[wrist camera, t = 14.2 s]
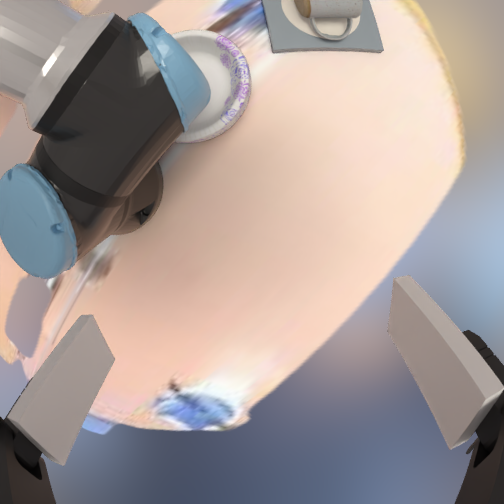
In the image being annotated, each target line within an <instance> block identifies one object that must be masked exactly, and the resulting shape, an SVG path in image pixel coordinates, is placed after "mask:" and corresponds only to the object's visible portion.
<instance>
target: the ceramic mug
mask: <svg viewBox="0 0 504 504" xmlns="http://www.w3.org/2000/svg"><path fill="white" fill-rule="evenodd" d="M294 2H295V5H296V8H297V10H298V12H299V13H300V14H301V15H302V16H304V17H306V18H309V19H310V24H311V26H312V28H313V30H314V31H315V33H316V34H317V35H319V36H320V37H322V38H325V39H328V40H341V39H343V38H345V37H347V35H348V34H349V33H350V31H351V28H352V18H357V17H359V16H360V14H361V12H362V5H363V1H362V0H294ZM315 18H319V19H320V18H347V27H346V30H345V32H344V33H343V34H342V35H339V36H338V35H328V34H323V33H321V32H320V31H319V30H318V29H317V26H316V24H315V21H314V19H315Z"/></svg>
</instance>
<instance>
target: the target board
mask: <svg viewBox="0 0 504 504" xmlns="http://www.w3.org/2000/svg"><path fill="white" fill-rule="evenodd" d="M362 1H363V5H362V12H361V14H360V16H359V17H357V18H352V28H351V31H350V33H349V34H348V35H347V37H345V38H343V39H341V40H328V39H325V38H322V37H320V36H319V35H317V34H316V33H315V31H314V30H313V28H312V26H311V24H310V19H309V18H306V17H304V16H302V15H301V14H300V13H299V12H298V10H297V8H296V5H295V2H294V0H262V4H263V9H264V13H265V18H266V22H267V27H268V31H269V36H270V41H271V46H272V51H273V53H279V52H293V51H318V50H337V51H362V52H376V53H381V52H382V51H384V49H383V45H382V41H381V37H380V34H379V30H378V27H377V23H376V20H375V17H374V13H373V10H372V7H371V4H370V1H369V0H362ZM314 21H315V24H316V26H317V29H318V30H319V31H320V32H321V33H323V34H328V35H338V36H339V35H342V34H343V33H344V32H345V30H346V27H347V18H320V19H319V18H315V19H314Z"/></svg>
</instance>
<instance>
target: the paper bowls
mask: <svg viewBox="0 0 504 504" xmlns="http://www.w3.org/2000/svg"><path fill="white" fill-rule="evenodd" d="M171 36H172V37H173V38H175V39H176V40H177V42H178V43H179V44H180V45H181V46H182V47H183V48H184V49H185V50H186V52H187V53H188V54H189V55H190V56H191V58H192V59H193V60H194V61H195V63H196V64H197V65H198V67H199V68H200V70H201V71H202V73H203V74H204V76H205V77H206V79H207V81H208V83H209V86H210V90H211V97H210V101H209V103H208V105H207V106H206V107H205V108H204V110H203V111H202V112H201V113H200V114H199V115H198V116H197V117H196V118H195V119H194V121H193V122H192V123H191V124H190V125H189V129H188V131H187V132H186V133H182V134H181V135H180V136H179V137H178V138H177V139H176V140H175V141H174V142H179V143H196V142H202V141H205V140H209V139H212V138H214V137H216V136H218V135H220V134H222V133H223V132H225V131H226V130H228V129H229V128H230V127H231V126H233V125H234V124H235V123H236V121H237V120H238V119H239V118H240V117H241V115H242V114H243V112H244V110H245V108H246V106H247V104H248V101H249V97H250V93H251V76H250V70H249V66H248V63H247V60H246V58H245V56H244V55H243V53H242V52H241V50H240V49H239V48H238V47H237V46H236V45H235V44H234V43H233V42H232V41H231V40H229V39H228V38H226V37H224V36H223V35H221V34H218V33H215V32H212V31H207V30H187V31H182V32H178V33H175V34H172V35H171Z"/></svg>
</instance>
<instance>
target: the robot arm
mask: <svg viewBox="0 0 504 504" xmlns="http://www.w3.org/2000/svg"><path fill="white" fill-rule="evenodd" d="M0 94H1V95H3V96H5V97H7V98H9V99H12V100H14V101H16V102H18V103H20V104H22V106H23V108H24V110H25V115H26V120H27V124H28V128H29V129H31V130H33V131H35V132H37V133H39V134H42V136H41V138H40V140H39V142H38V144H37V146H36V148H35V150H34V152H33V154H32V156H31V158H30V159H29V161H28V162H27V163H26V164H17V165H15V166H14V167H13V168H12V169H10V170H8V171H7V172H6V173H5V174H4V175H3V176H2V178H1V179H0V236H1V239H2V241H3V244H4V246H5V247H6V249H7V251H8V253H9V254H10V256H11V257H12V258H13V260H14V261H15V262H16V263H17V264H18V265H19V266H20V267H21V268H22V269H23V270H24V271H26V272H27V273H29V274H31V275H32V276H35V277H41V278H44V279H50V278H54V277H56V276H58V275H59V274H61V273H62V272H63V271H66V270H69V269H71V267H73V266H74V265H75V263H76V262H77V261H78V260H79V259H80V258H82V257H83V256H84V255H85V254H87V253H88V252H89V251H90V250H92V249H93V248H94V247H95V246H97V245H98V244H99V243H101V242H102V241H103V240H105V239H106V238H107V237H109V236H110V235H122V234H127V233H130V232H133V231H135V230H137V229H139V228H140V227H141V226H143V225H144V224H145V223H146V222H148V221H149V220H150V219H151V218H152V216H153V215H154V214H155V212H156V210H157V209H158V207H159V204H160V201H161V198H162V192H163V178H162V173H161V169H160V166H159V164H158V162H157V161H158V160H159V158H160V157H161V156H162V155H163V154H164V153H165V151H166V150H167V149H168V148H169V147H170V146H171V145H172V144H173V142H174V141H175V140H176V139H177V138H178V137H179V136H180V135H181V134H182V133H186V132H187V131H188V129H189V125H190V124H191V123H192V122H193V121H194V119H195V118H196V117H197V116H198V115H199V114H200V113H201V112H202V111H203V110H204V108H205V107H206V106H207V105H208V103H209V101H210V97H211V90H210V86H209V83H208V81H207V79H206V77H205V76H204V74H203V73H202V71H201V70H200V68H199V67H198V65H197V64H196V63H195V61H194V60H193V59H192V58H191V56H190V55H189V54H188V53H187V52H186V50H185V49H184V48H183V47H182V46H181V45H180V44H179V43H178V42H177V40H176V39H175V38H173V37H172V36H171V35H170V34H169V33H167V32H166V31H165V30H164V29H163V28H162V27H161V26H160V25H159V24H158V22H157V21H155V20H154V19H153V18H151V17H150V16H148V15H147V14H144V13H137V14H135V15H133V16H130V17H129V18H128V19H127V21H125V20H123V19H122V18H121V17H119V16H118V15H116V14H115V13H114V12H106V13H100V14H95V15H82V14H81V13H79V12H77V11H76V10H74V9H73V8H71V7H69V6H68V5H66V4H64V3H62V2H61V1H59V0H0ZM387 332H388V333H389V335H390V337H391V338H392V340H393V342H394V343H395V345H396V347H397V349H398V350H399V352H400V354H401V355H402V357H403V359H404V361H405V362H406V364H407V366H408V368H409V370H410V371H411V373H412V375H413V377H414V379H415V381H416V383H417V384H418V386H419V388H420V390H421V392H422V394H423V396H424V398H425V400H426V402H427V404H428V406H429V408H430V409H431V412H432V414H433V415H434V418H435V420H436V422H437V424H438V426H439V428H440V430H441V432H442V434H443V437H444V438H445V441H446V443H447V445H448V448H449V450H451V449H453V448H455V447H457V446H458V445H460V444H462V443H464V442H466V441H468V440H469V438H470V437H471V436H472V435H473V433H474V432H476V433H477V435H478V438H477V439H476V440H475V442H474V443H473V444H472V445H471V446H470V447H469V449H468V450H467V452H466V454H469V453H470V452H471V451H472V450H473V452H472V456H471V459H470V463H469V466H468V469H467V472H466V476H465V478H464V481H463V484H462V486H461V489H460V492H459V494H458V497H457V499H456V502H455V504H504V365H503V364H502V363H501V362H500V361H499V359H498V358H497V357H496V356H495V355H493V352H492V351H491V350H490V348H488V347H487V345H486V343H485V342H484V341H483V340H482V339H481V338H480V337H479V336H478V335H476V334H475V333H473V332H471V331H470V330H467V331H464V332H461V331H460V330H459V328H458V327H457V326H456V325H455V324H454V323H453V321H452V320H451V319H450V318H449V317H448V316H447V315H446V314H445V312H444V311H442V309H441V308H440V307H439V306H438V305H437V304H436V303H435V301H434V300H433V299H432V298H431V297H430V296H429V295H428V294H427V293H426V292H425V291H424V290H423V289H422V288H421V287H420V286H419V285H418V284H417V283H416V282H415V281H414V280H413V278H412V277H411V276H410V275H407V276H402V277H397V278H394V279H393V290H392V300H391V308H390V316H389V323H388V330H387ZM114 361H115V358H114V356H113V354H112V353H111V351H110V349H109V347H108V345H107V343H106V341H105V339H104V337H103V335H102V333H101V331H100V329H99V327H98V325H97V323H96V321H95V319H94V316H93V315H81V316H80V317H79V318H78V320H77V321H76V322H75V323H74V324H73V326H72V327H71V328H70V329H69V331H68V332H67V333H66V334H65V336H64V337H63V338H62V339H61V341H60V342H59V343H58V345H57V346H56V347H55V348H54V350H53V351H52V352H51V354H50V355H49V356H48V358H47V359H46V360H45V362H44V363H43V365H42V366H41V367H40V369H39V370H38V371H37V373H36V374H35V376H34V377H33V378H32V379H31V380H30V381H29V383H28V384H27V386H26V389H24V390H23V391H22V393H21V395H20V396H19V397H18V399H17V400H16V402H15V403H14V405H13V407H12V408H11V410H10V411H9V413H8V415H7V416H6V418H5V419H4V420H3V419H2V418H1V417H0V504H56V502H55V499H54V495H53V492H52V488H51V485H50V481H49V477H48V473H47V469H46V465H45V462H44V459H43V458H41V457H40V456H41V454H42V453H43V454H44V455H45V456H46V457H48V458H49V459H50V460H51V461H53V462H56V463H58V464H61V465H63V466H64V465H65V463H66V460H67V458H68V456H69V453H70V451H71V449H72V446H73V444H74V442H75V440H76V437H77V435H78V433H79V431H80V429H81V427H82V424H83V422H84V420H85V418H86V416H87V414H88V412H89V410H90V408H91V406H92V404H93V402H94V400H95V398H96V396H97V394H98V392H99V390H100V388H101V386H102V384H103V382H104V380H105V378H106V376H107V374H108V372H109V370H110V368H111V367H112V365H113V363H114ZM473 448H474V449H473Z"/></svg>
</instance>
